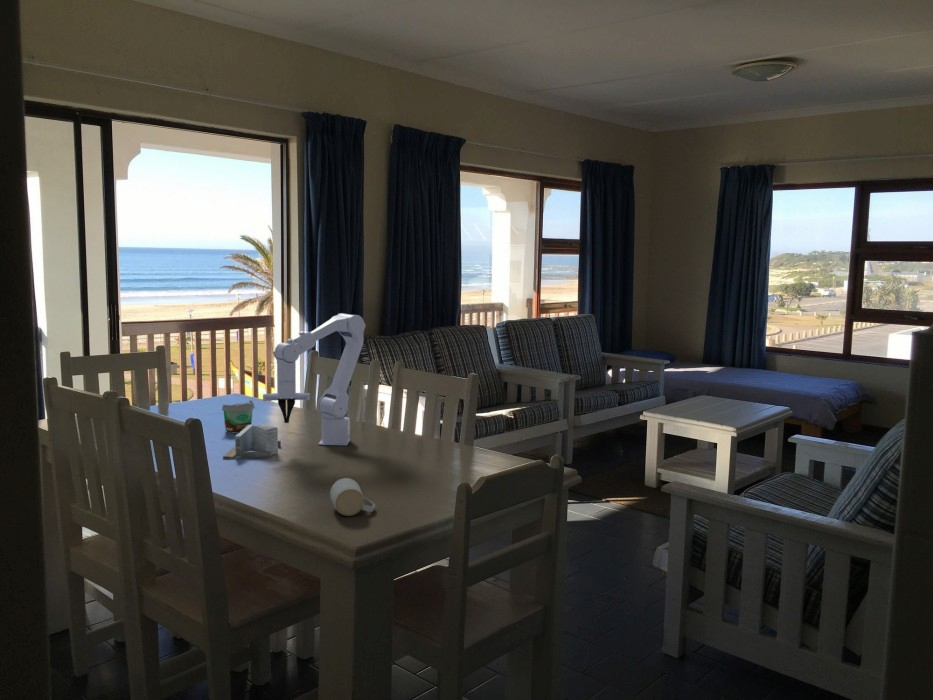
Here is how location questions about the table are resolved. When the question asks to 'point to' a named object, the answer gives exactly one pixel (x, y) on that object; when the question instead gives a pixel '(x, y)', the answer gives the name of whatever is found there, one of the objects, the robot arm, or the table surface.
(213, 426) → the table surface
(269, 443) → the medicine box
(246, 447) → the door panel
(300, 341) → the robot arm
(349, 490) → the ceramic mug
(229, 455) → the threshold strip
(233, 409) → the food container
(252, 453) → the keeper cleats
